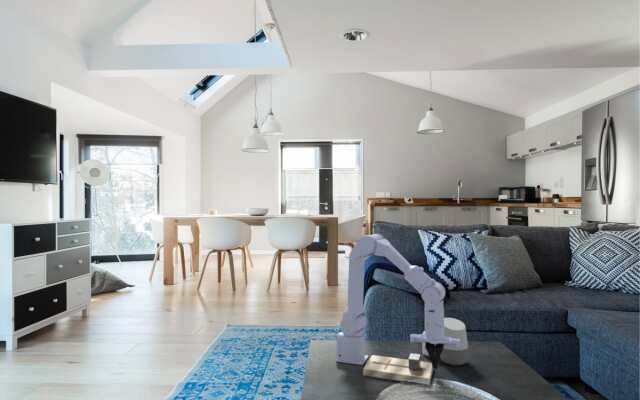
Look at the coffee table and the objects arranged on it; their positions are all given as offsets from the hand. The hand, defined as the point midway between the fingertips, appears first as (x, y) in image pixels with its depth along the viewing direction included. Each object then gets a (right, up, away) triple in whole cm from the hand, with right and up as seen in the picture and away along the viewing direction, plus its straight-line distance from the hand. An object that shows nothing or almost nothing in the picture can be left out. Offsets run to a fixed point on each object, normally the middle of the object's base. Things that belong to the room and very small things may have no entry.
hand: (435, 367), depth 119 cm
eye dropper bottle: (+4, -4, +19) cm, 20 cm away
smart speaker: (+10, -3, +11) cm, 15 cm away
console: (-10, -3, +4) cm, 11 cm away
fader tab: (-6, -1, +2) cm, 6 cm away
